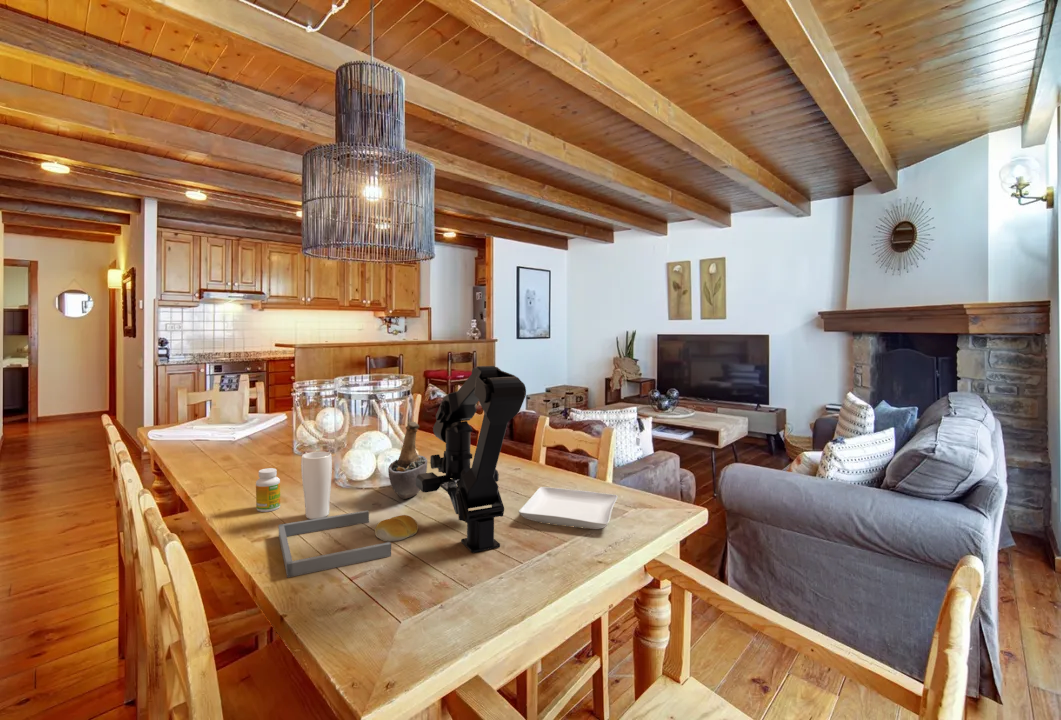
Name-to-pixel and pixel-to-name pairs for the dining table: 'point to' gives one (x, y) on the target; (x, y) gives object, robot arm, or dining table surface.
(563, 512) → the salad plate
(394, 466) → the mortar and pestle
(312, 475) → the drinking glass
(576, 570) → the dining table surface
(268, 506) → the supplement bottle
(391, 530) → the bread roll
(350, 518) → the gray three-sided bracket
